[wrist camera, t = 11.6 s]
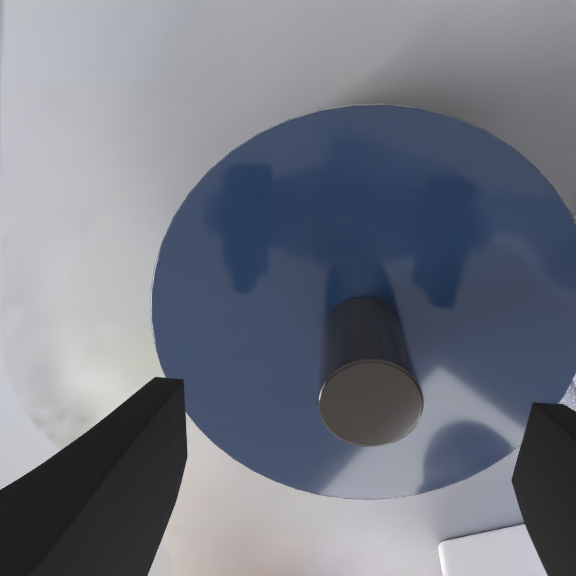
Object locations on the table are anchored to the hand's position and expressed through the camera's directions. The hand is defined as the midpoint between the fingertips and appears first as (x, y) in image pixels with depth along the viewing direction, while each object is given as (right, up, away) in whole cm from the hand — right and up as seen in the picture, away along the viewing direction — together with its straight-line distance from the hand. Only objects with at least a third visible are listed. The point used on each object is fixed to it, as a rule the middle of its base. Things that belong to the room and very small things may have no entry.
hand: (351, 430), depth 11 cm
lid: (+1, +2, +5) cm, 5 cm away
